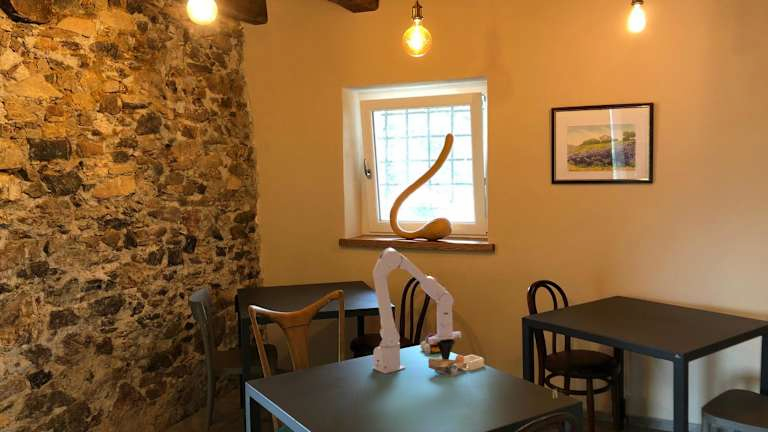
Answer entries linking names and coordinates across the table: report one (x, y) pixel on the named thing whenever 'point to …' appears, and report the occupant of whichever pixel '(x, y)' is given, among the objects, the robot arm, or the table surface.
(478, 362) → the tan shallow rectangular box
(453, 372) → the mount
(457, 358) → the ball
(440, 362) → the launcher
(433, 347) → the colorful rounded pieces cluster
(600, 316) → the table surface
